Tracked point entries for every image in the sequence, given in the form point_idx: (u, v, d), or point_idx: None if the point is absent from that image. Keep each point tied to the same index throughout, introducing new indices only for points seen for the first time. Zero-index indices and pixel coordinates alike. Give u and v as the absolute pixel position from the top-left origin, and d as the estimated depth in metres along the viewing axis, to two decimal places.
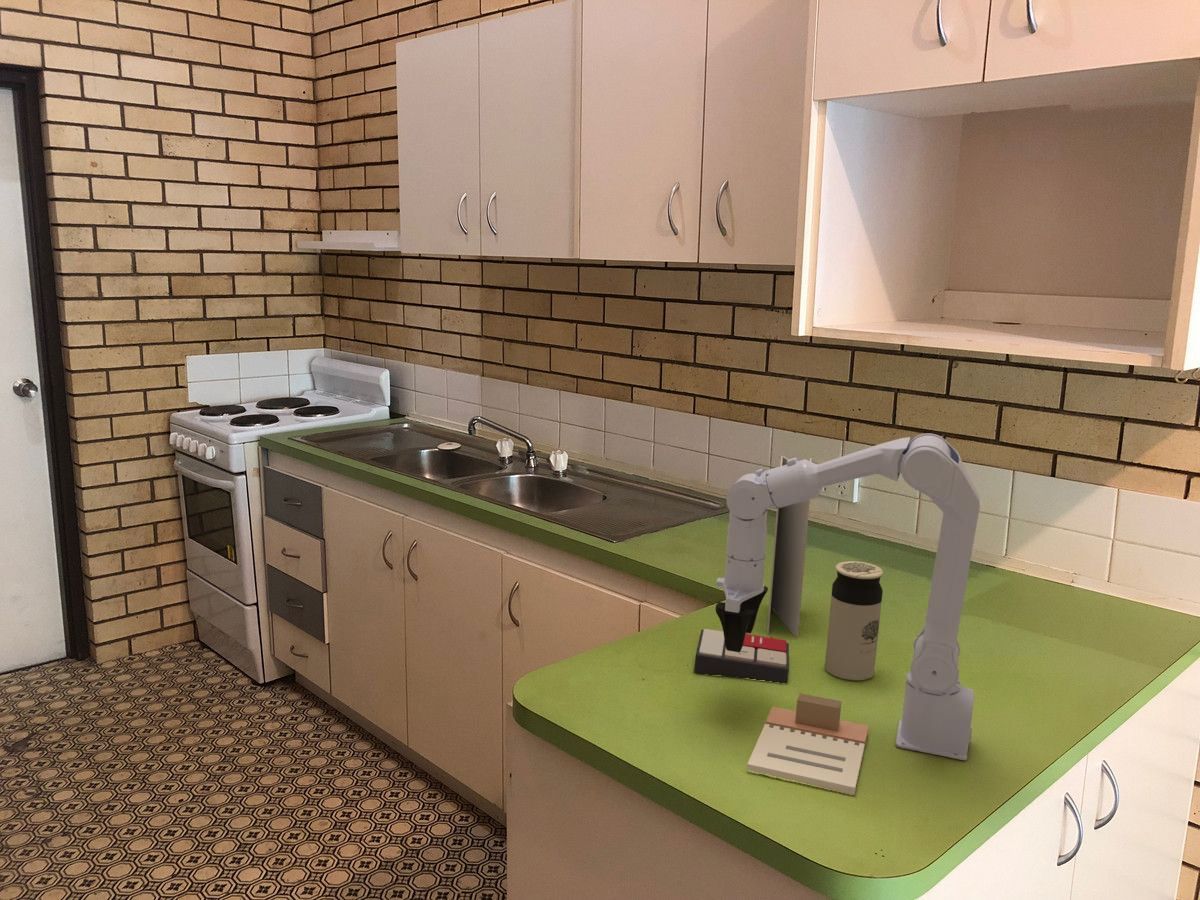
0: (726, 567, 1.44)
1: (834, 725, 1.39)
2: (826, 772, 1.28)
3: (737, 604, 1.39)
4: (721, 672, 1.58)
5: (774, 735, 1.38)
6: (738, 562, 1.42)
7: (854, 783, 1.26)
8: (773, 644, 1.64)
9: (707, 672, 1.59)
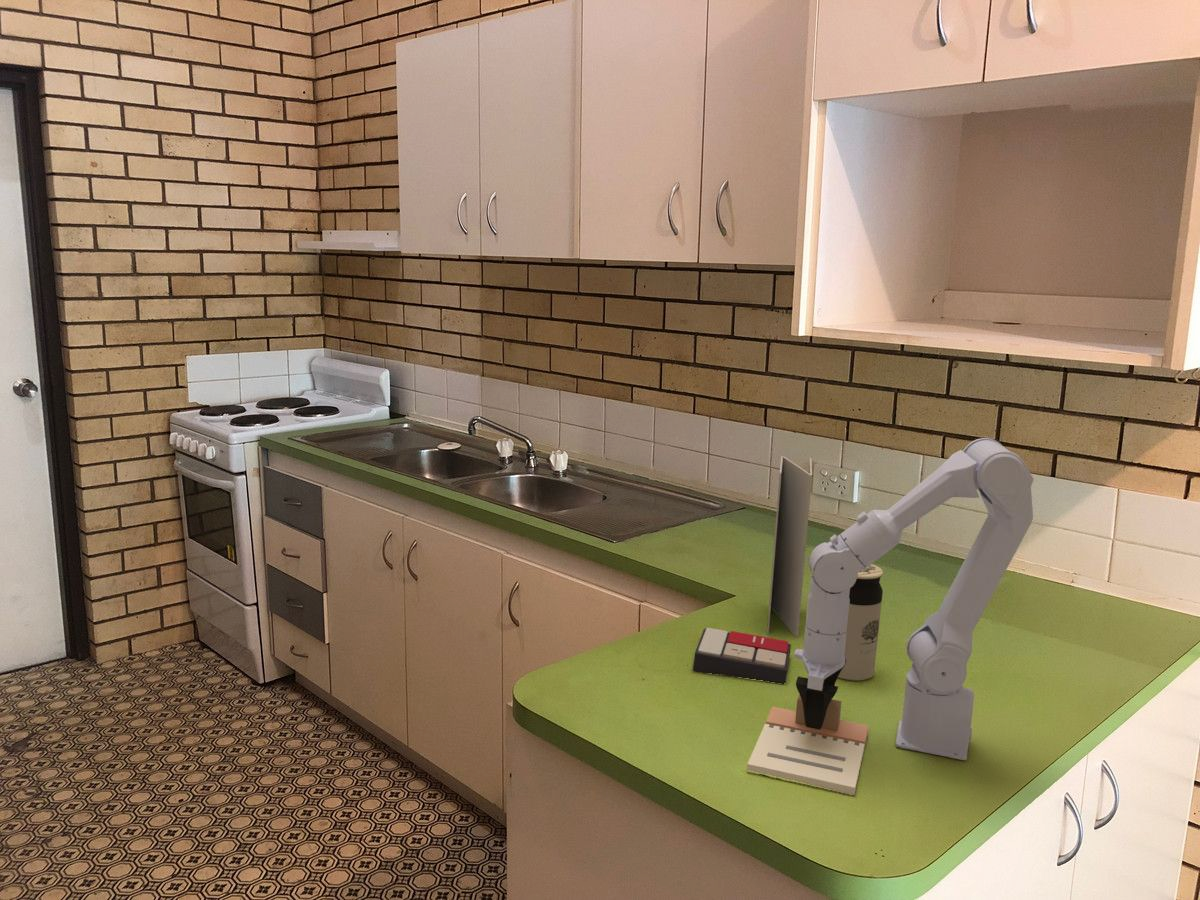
0: (806, 639, 1.38)
1: (834, 725, 1.39)
2: (826, 772, 1.28)
3: (821, 682, 1.32)
4: (719, 671, 1.59)
5: (774, 735, 1.38)
6: (820, 636, 1.36)
7: (854, 783, 1.26)
8: (774, 645, 1.64)
9: (706, 671, 1.59)
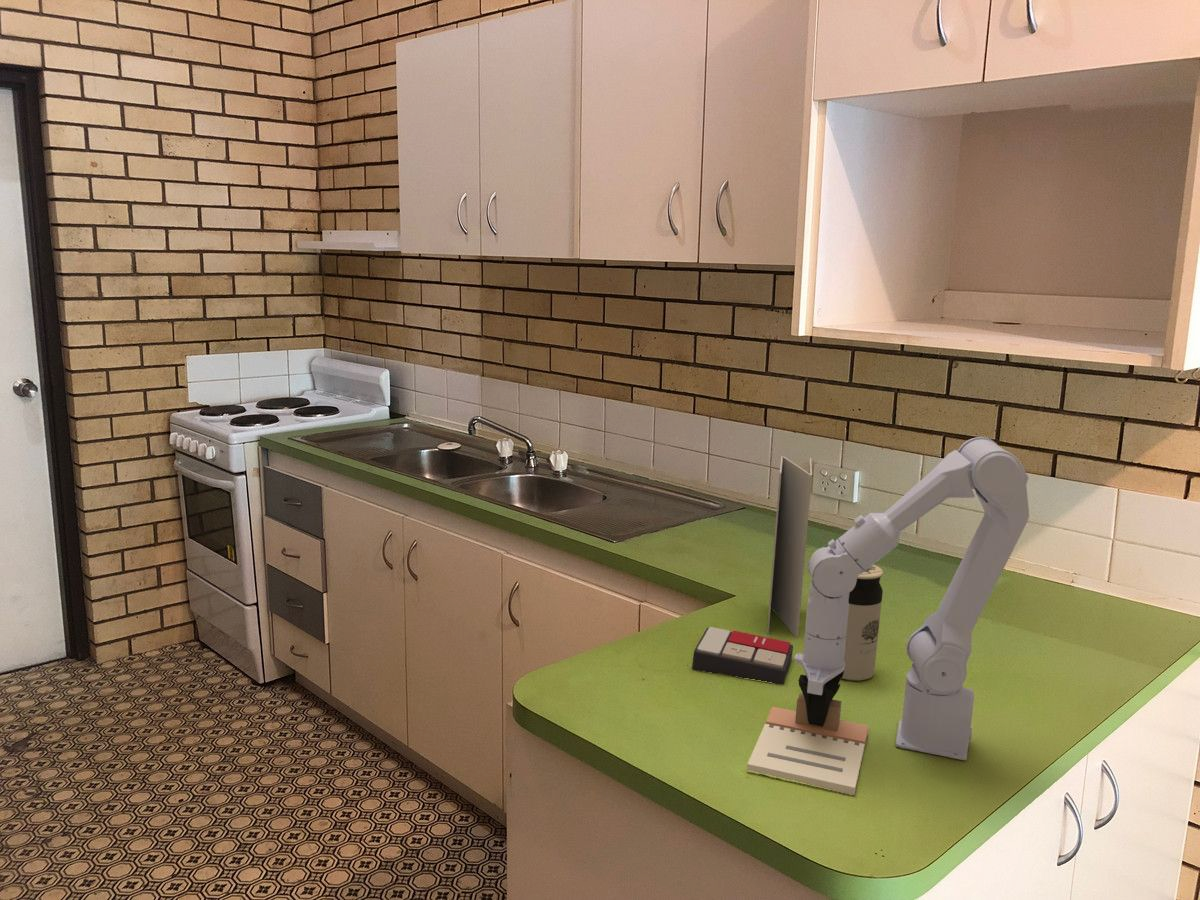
0: (806, 644, 1.38)
1: (834, 725, 1.39)
2: (826, 772, 1.28)
3: (820, 686, 1.32)
4: (718, 670, 1.59)
5: (774, 735, 1.38)
6: (819, 640, 1.36)
7: (854, 783, 1.26)
8: (775, 645, 1.63)
9: (704, 669, 1.60)
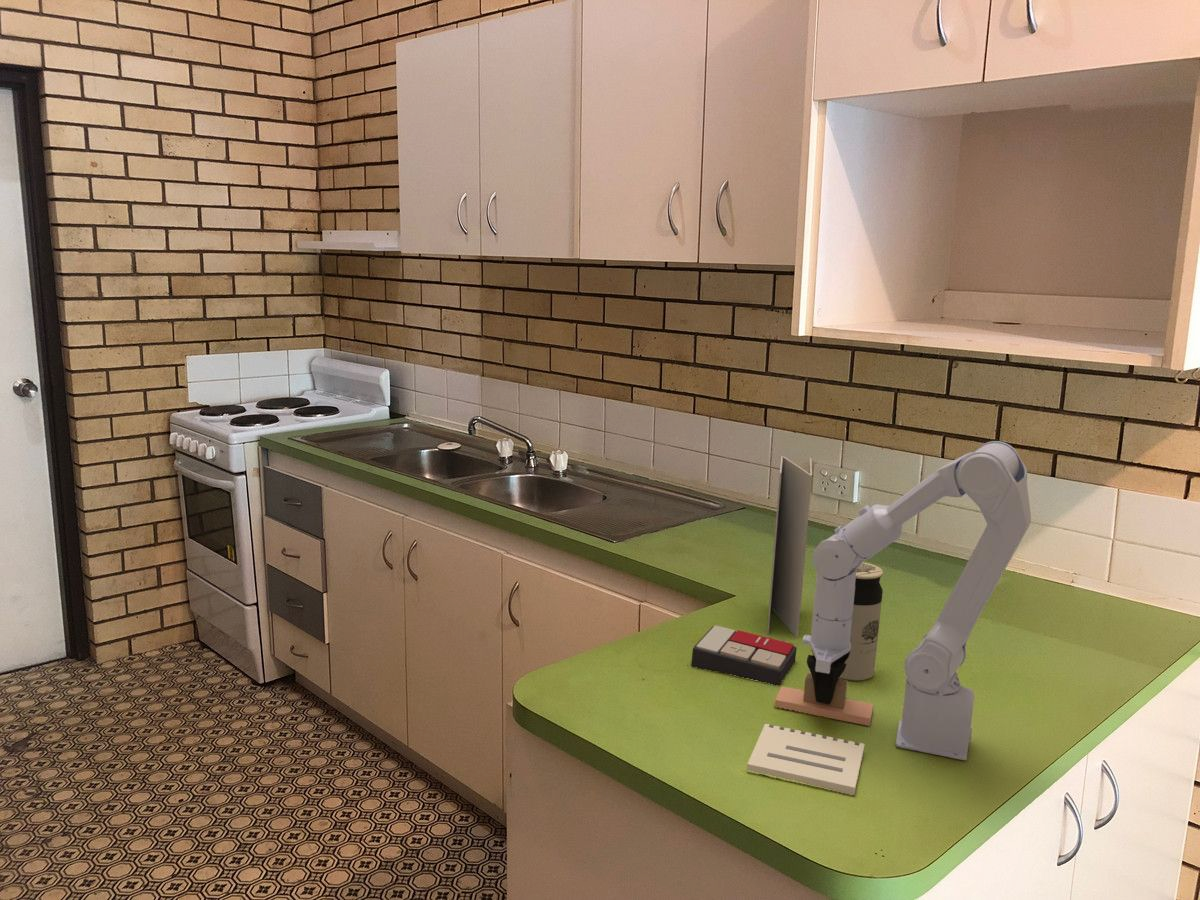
0: (814, 626, 1.45)
1: (840, 703, 1.46)
2: (826, 772, 1.28)
3: (828, 665, 1.39)
4: (716, 668, 1.60)
5: (774, 735, 1.38)
6: (827, 622, 1.43)
7: (854, 783, 1.26)
8: (777, 646, 1.63)
9: (703, 666, 1.61)
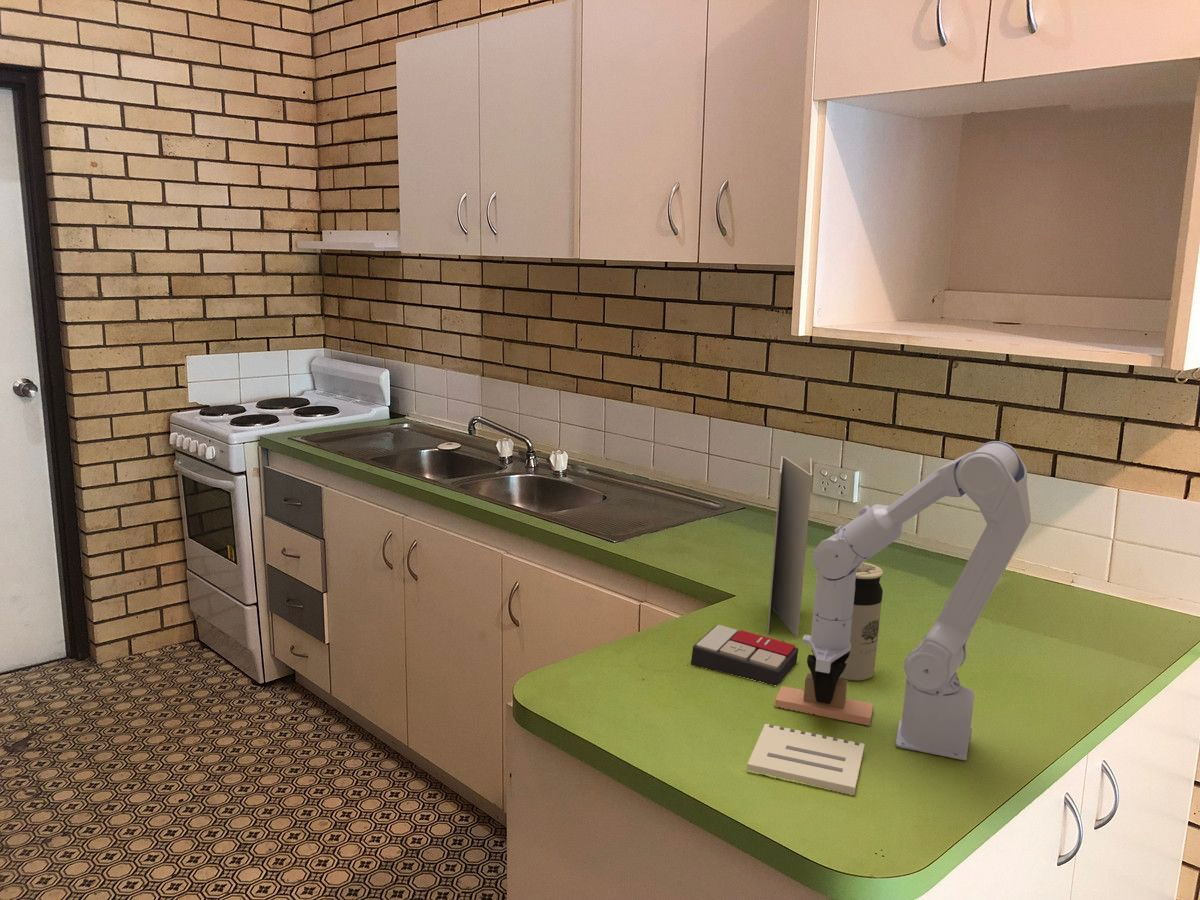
0: (814, 625, 1.45)
1: (841, 703, 1.46)
2: (826, 772, 1.28)
3: (828, 665, 1.39)
4: (715, 667, 1.60)
5: (774, 735, 1.38)
6: (827, 621, 1.43)
7: (854, 783, 1.26)
8: (778, 647, 1.63)
9: (702, 665, 1.61)
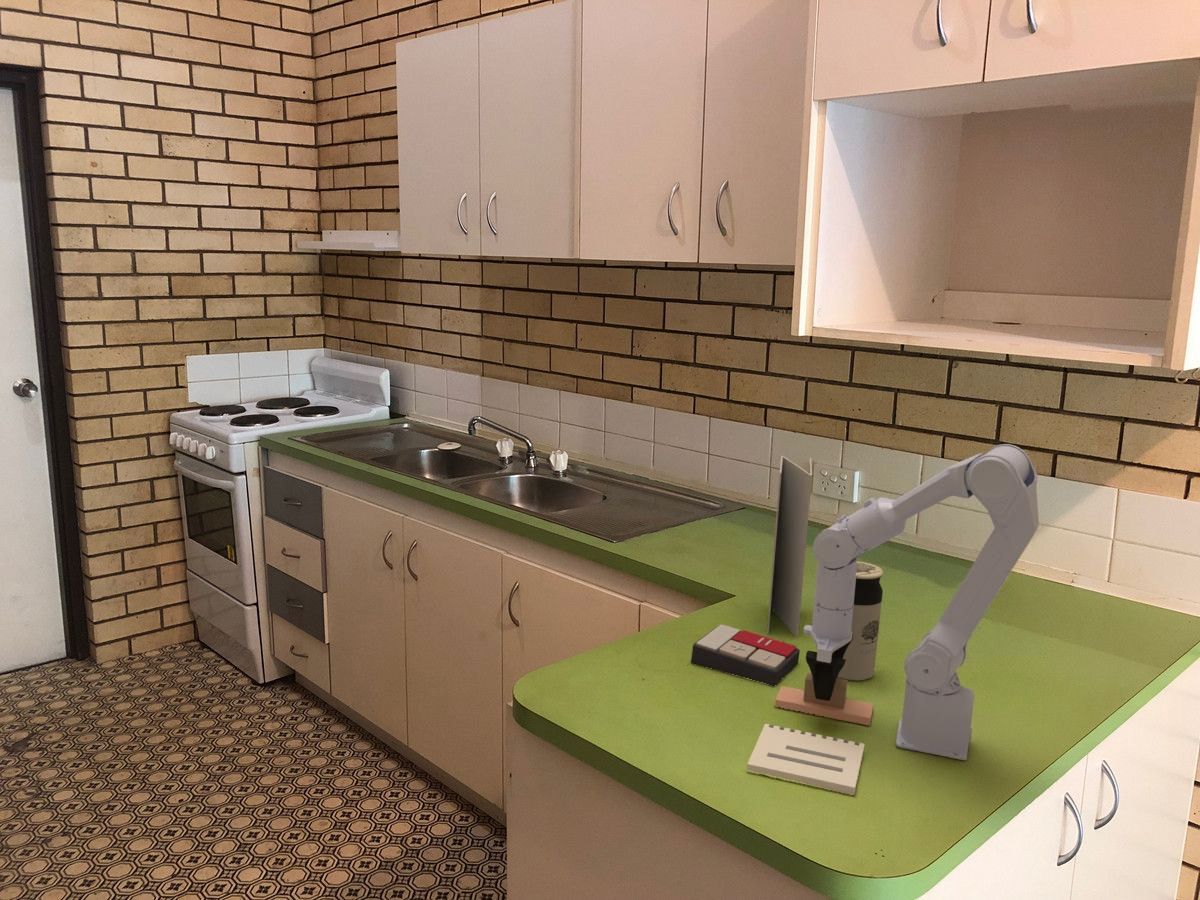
0: (815, 615, 1.44)
1: (841, 703, 1.46)
2: (826, 772, 1.28)
3: (829, 654, 1.39)
4: (714, 666, 1.61)
5: (774, 735, 1.38)
6: (828, 611, 1.42)
7: (854, 783, 1.26)
8: (779, 648, 1.62)
9: (702, 664, 1.62)
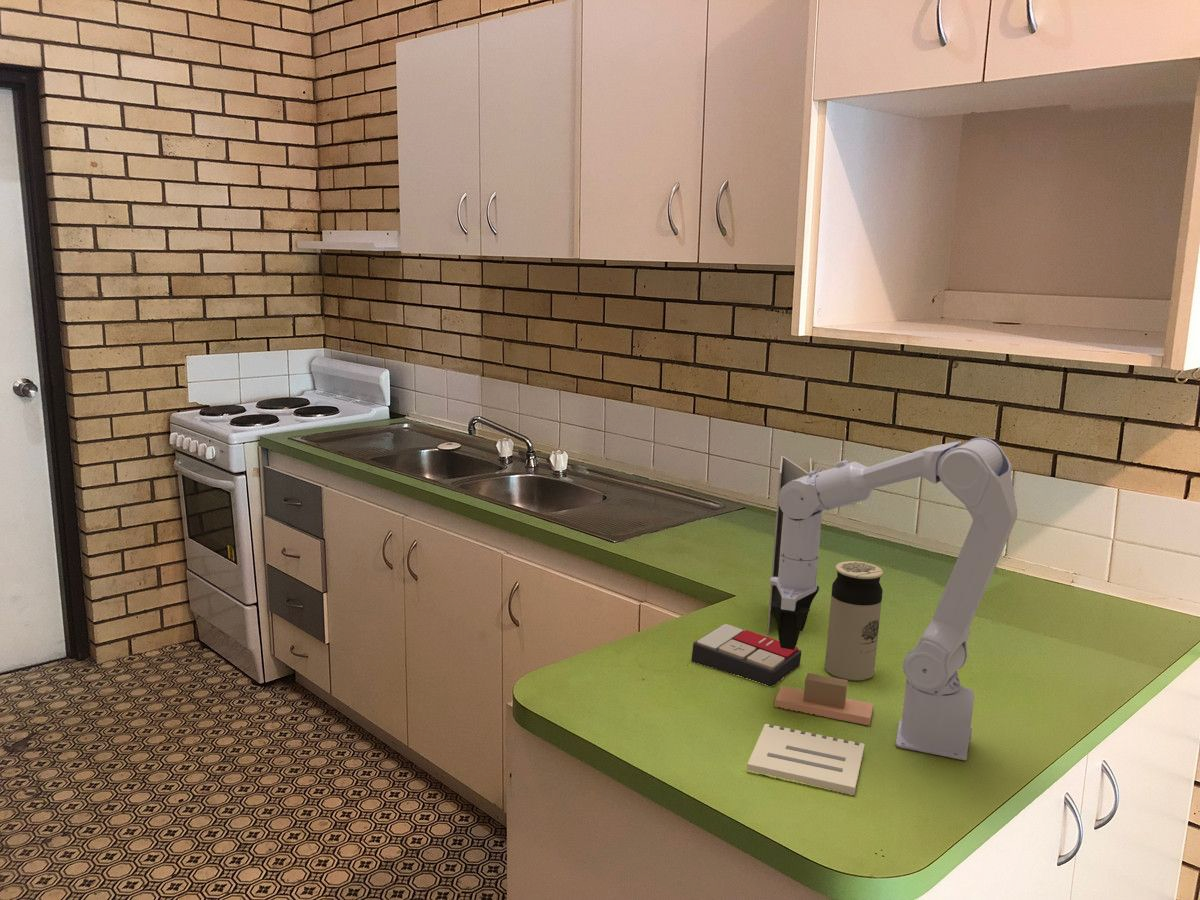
0: (781, 566, 1.47)
1: (841, 703, 1.46)
2: (826, 772, 1.28)
3: (793, 603, 1.42)
4: (714, 664, 1.61)
5: (774, 735, 1.38)
6: (793, 562, 1.45)
7: (854, 783, 1.26)
8: (780, 648, 1.62)
9: (702, 662, 1.62)
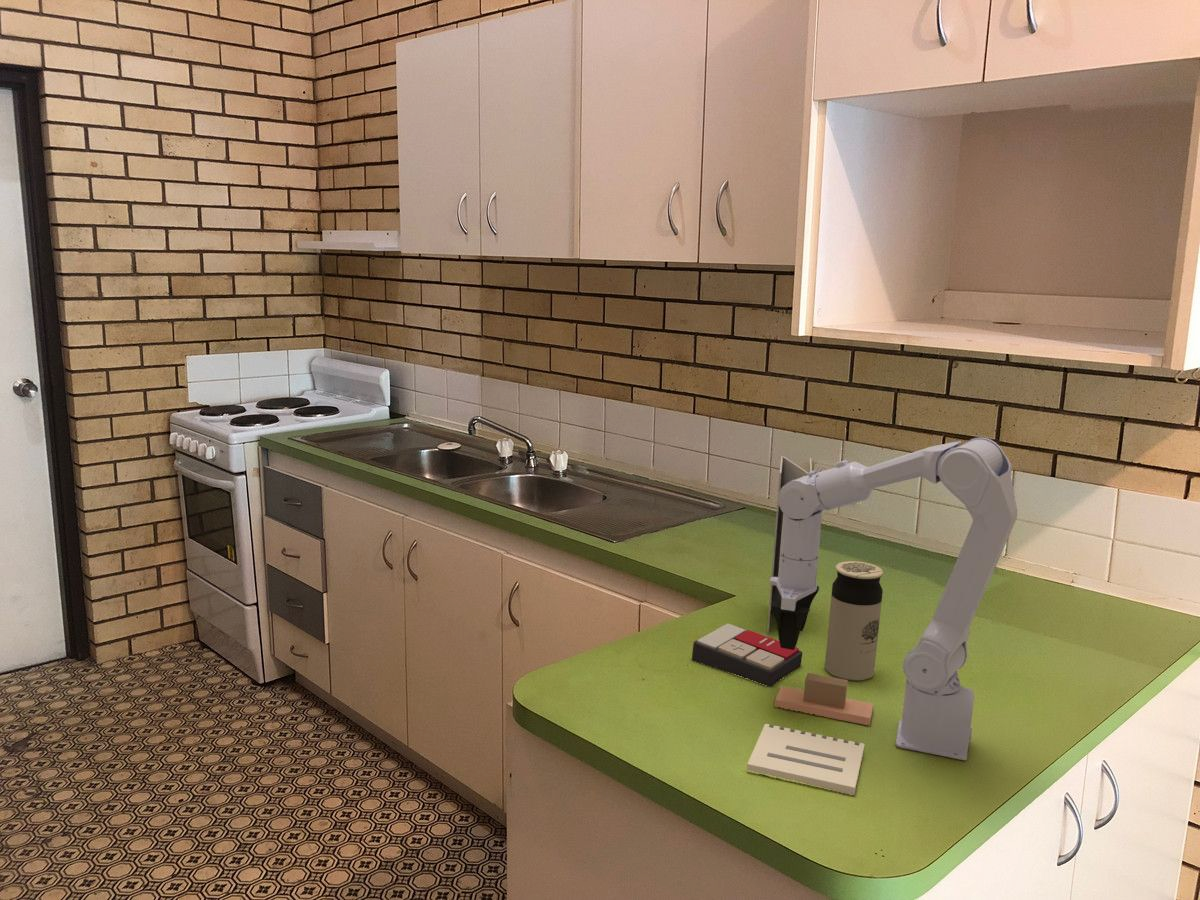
0: (781, 566, 1.47)
1: (841, 703, 1.46)
2: (826, 772, 1.28)
3: (793, 603, 1.42)
4: (713, 663, 1.61)
5: (774, 735, 1.38)
6: (793, 562, 1.45)
7: (854, 783, 1.26)
8: (780, 649, 1.62)
9: (702, 661, 1.63)
